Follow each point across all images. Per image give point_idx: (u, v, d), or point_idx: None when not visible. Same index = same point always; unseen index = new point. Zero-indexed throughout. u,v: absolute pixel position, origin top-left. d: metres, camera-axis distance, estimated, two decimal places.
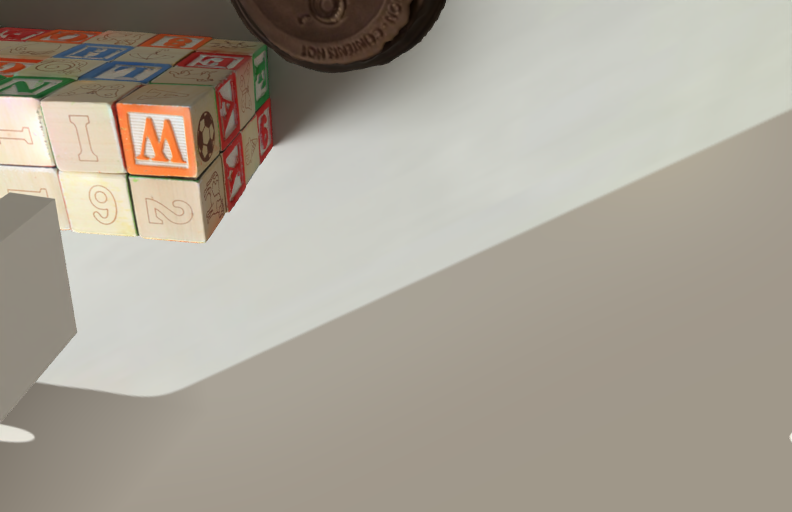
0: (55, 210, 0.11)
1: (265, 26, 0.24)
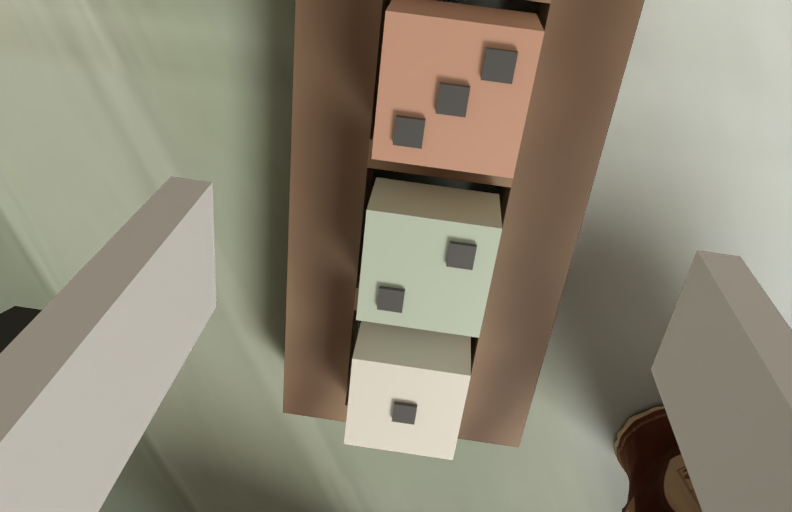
0: (212, 193, 0.12)
1: None
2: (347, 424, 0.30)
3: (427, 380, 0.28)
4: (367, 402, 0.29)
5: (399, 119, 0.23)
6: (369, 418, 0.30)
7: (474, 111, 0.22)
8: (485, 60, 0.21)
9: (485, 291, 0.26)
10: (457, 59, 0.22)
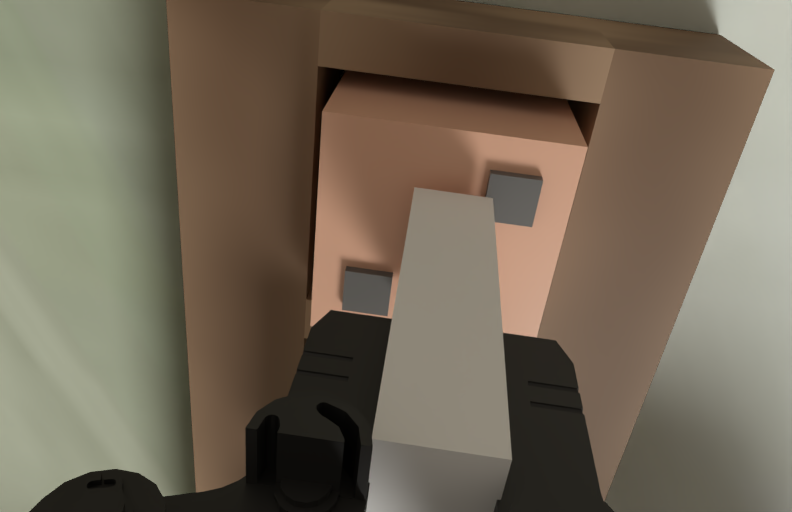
0: None
1: None
2: None
3: None
4: None
5: (351, 275, 0.14)
6: None
7: None
8: (488, 190, 0.13)
9: None
10: (443, 186, 0.13)
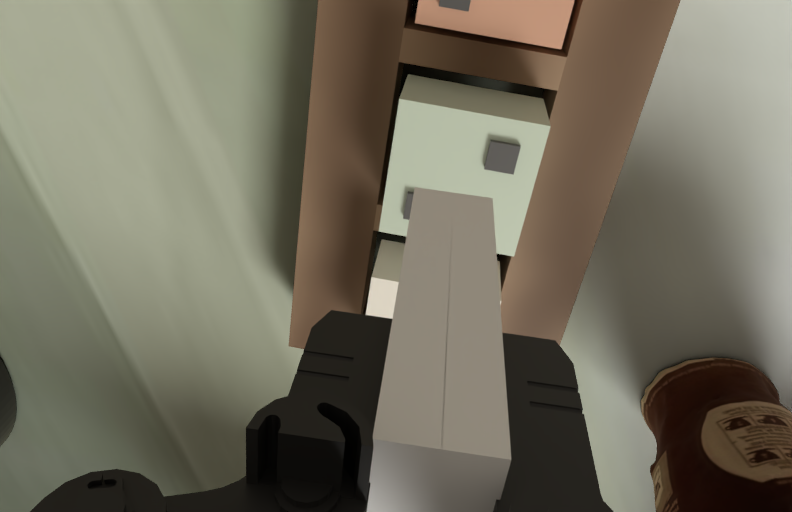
0: None
1: None
2: None
3: None
4: None
5: None
6: None
7: None
8: None
9: (525, 201, 0.23)
10: None
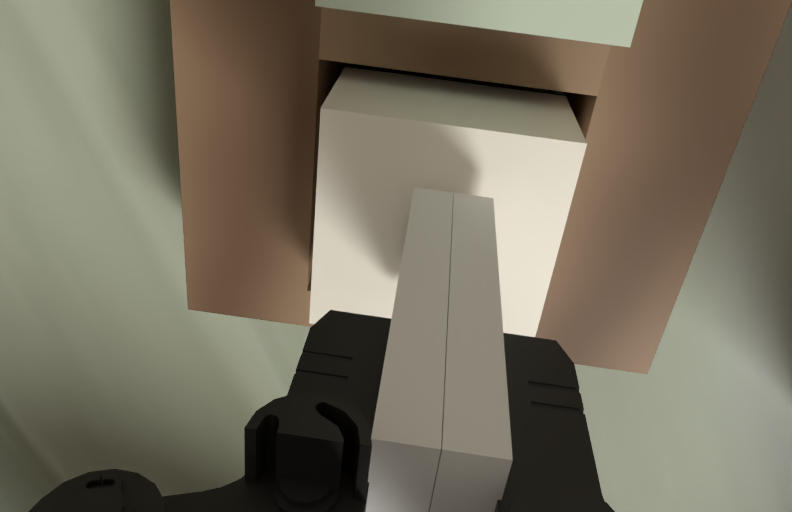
0: None
1: None
2: (314, 277, 0.14)
3: (486, 160, 0.13)
4: (357, 223, 0.14)
5: None
6: (359, 261, 0.14)
7: None
8: None
9: None
10: None
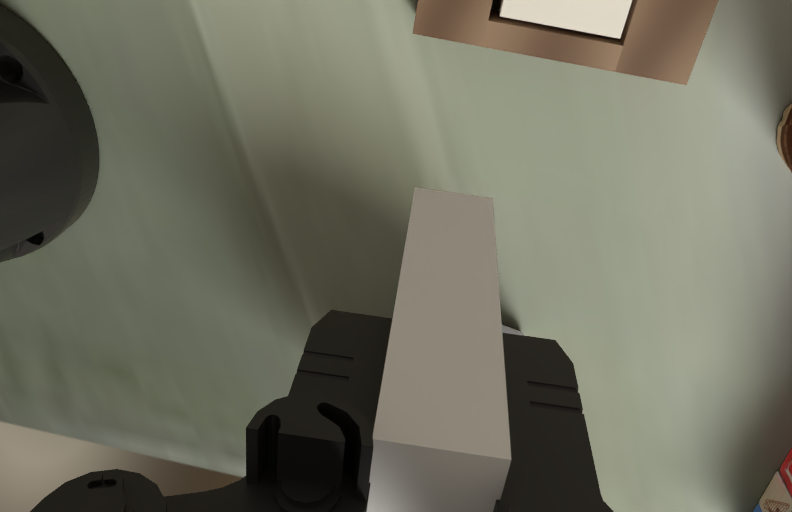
0: None
1: None
2: None
3: None
4: None
5: None
6: None
7: None
8: None
9: None
10: None
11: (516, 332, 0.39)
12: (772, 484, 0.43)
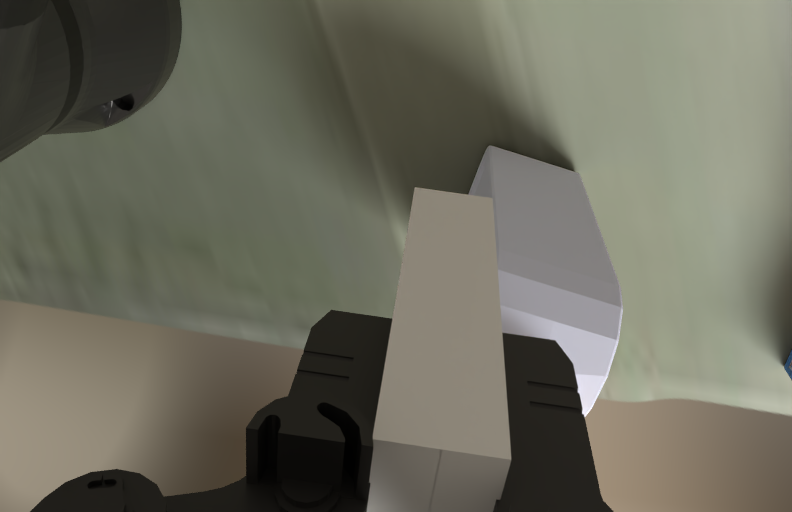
0: None
1: None
2: None
3: None
4: None
5: None
6: None
7: None
8: None
9: None
10: None
11: (572, 171, 0.42)
12: None
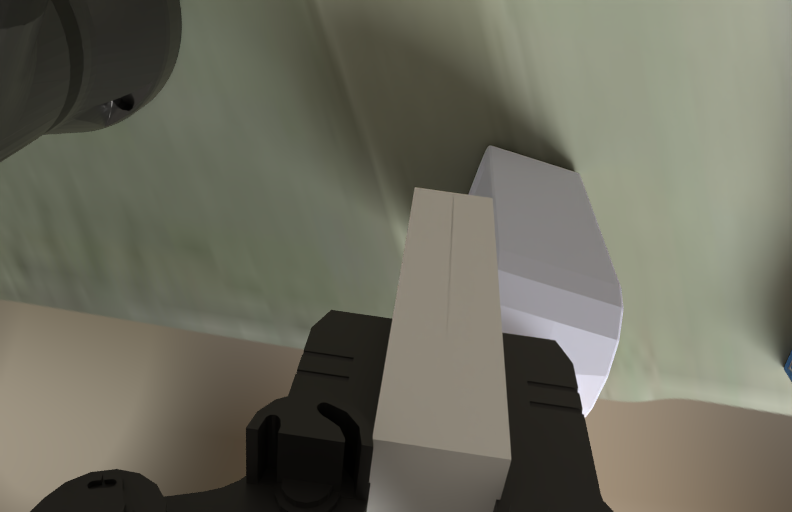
0: None
1: None
2: None
3: None
4: None
5: None
6: None
7: None
8: None
9: None
10: None
11: (572, 171, 0.42)
12: None
